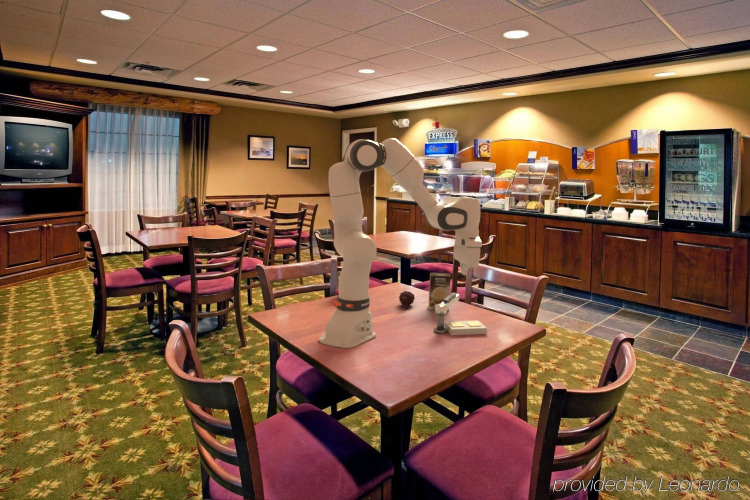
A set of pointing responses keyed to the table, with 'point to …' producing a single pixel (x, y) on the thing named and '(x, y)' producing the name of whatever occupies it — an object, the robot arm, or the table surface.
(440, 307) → the bar
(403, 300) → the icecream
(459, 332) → the block
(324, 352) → the table surface
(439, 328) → the post
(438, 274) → the coffee box
